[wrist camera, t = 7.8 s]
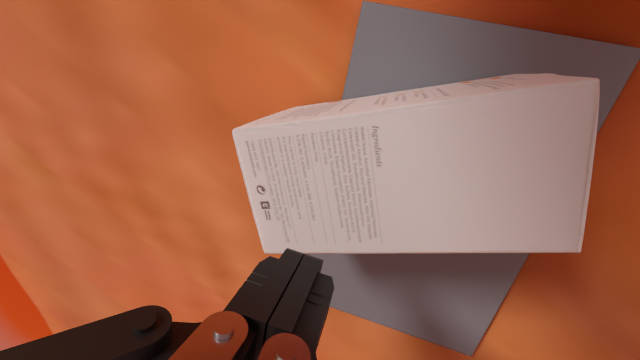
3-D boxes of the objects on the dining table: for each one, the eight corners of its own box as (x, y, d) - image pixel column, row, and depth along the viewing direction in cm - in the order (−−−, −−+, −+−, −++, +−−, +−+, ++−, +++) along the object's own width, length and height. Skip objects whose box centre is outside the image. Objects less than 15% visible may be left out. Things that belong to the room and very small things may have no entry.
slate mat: (364, 2, 17) (362, 0, 17) (636, 49, 15) (645, 48, 14) (302, 291, 26) (300, 296, 25) (469, 349, 23) (471, 356, 23)
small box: (260, 257, 15) (587, 259, 11) (226, 128, 13) (609, 72, 9) (309, 193, 22) (513, 181, 18) (292, 106, 20) (517, 70, 16)
